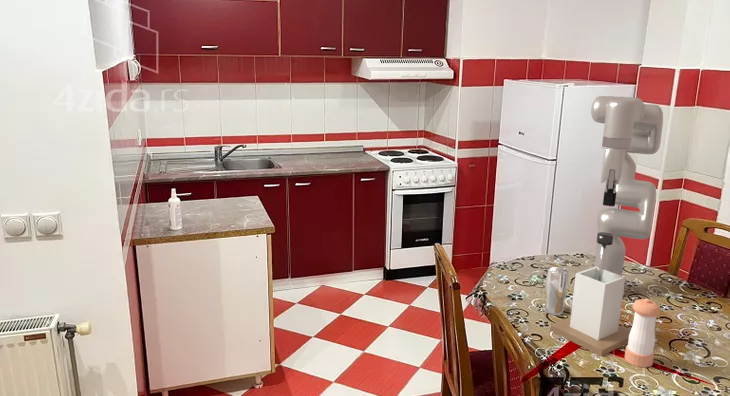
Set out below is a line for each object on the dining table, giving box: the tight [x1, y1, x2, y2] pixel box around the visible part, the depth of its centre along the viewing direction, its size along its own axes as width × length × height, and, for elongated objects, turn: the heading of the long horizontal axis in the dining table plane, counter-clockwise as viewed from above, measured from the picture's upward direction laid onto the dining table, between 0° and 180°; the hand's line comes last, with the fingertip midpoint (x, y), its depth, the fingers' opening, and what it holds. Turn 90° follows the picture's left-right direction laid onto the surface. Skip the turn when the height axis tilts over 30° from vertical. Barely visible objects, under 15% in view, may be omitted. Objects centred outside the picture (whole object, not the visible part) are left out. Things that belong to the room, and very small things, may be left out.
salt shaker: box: [624, 298, 662, 368], centre depth 156 cm, size 7×7×19 cm
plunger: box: [596, 232, 614, 282], centre depth 167 cm, size 8×8×20 cm
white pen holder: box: [549, 266, 631, 357], centre depth 170 cm, size 18×18×20 cm
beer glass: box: [544, 266, 570, 316], centre depth 186 cm, size 7×7×15 cm
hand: (608, 205), depth 162 cm, fingers closed
